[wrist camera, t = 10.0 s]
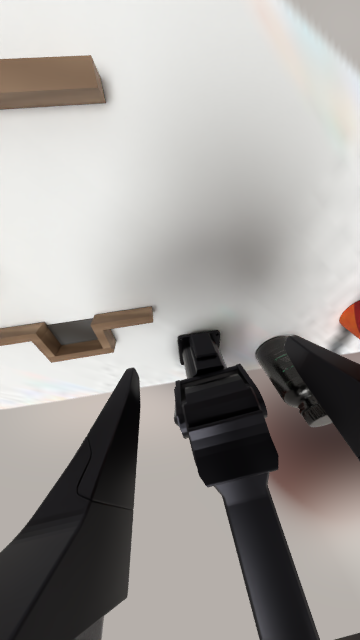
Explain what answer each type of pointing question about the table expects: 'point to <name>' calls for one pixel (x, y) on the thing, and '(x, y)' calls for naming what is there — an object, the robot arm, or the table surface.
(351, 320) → the paper cup
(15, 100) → the trap lane
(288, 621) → the robot arm
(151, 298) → the table surface
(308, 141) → the table surface
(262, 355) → the supplement bottle
